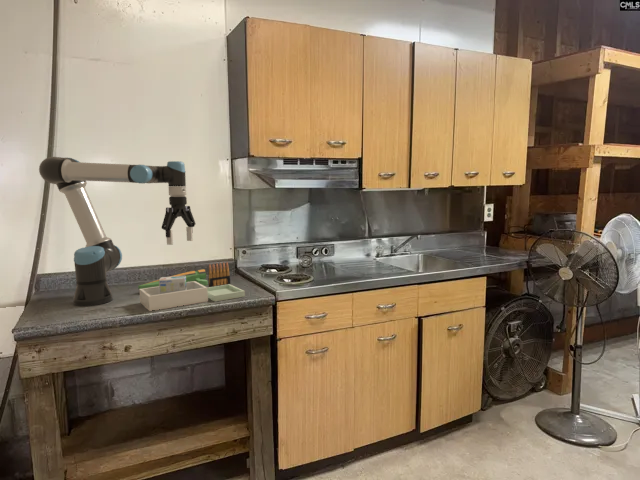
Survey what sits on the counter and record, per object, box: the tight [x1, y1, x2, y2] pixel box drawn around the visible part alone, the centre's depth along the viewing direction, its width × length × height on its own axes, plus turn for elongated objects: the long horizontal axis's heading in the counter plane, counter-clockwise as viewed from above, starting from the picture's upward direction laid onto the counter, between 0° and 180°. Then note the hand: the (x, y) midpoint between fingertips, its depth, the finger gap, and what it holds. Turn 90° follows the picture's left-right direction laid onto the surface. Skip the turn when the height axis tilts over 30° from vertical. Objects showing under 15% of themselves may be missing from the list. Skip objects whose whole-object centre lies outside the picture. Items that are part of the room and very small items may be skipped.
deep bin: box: [138, 281, 209, 312], centre depth 190 cm, size 24×16×6 cm, turn 124°
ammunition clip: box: [207, 261, 232, 287], centre depth 216 cm, size 11×2×12 cm, turn 126°
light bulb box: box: [158, 275, 187, 294], centre depth 190 cm, size 11×7×11 cm, turn 104°
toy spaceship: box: [137, 269, 209, 290], centre depth 215 cm, size 32×10×7 cm, turn 127°
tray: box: [206, 284, 246, 302], centre depth 201 cm, size 14×17×2 cm
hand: (180, 242), depth 205 cm, fingers open, 13 cm apart
